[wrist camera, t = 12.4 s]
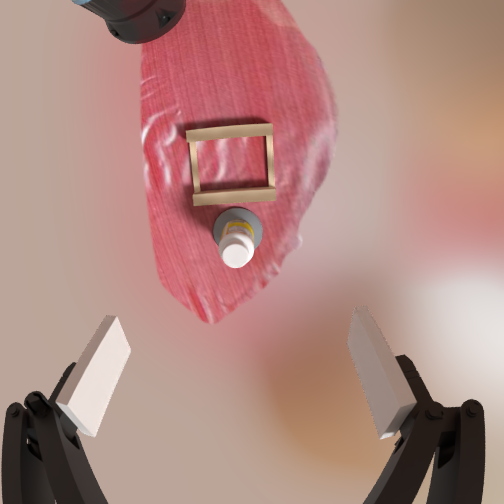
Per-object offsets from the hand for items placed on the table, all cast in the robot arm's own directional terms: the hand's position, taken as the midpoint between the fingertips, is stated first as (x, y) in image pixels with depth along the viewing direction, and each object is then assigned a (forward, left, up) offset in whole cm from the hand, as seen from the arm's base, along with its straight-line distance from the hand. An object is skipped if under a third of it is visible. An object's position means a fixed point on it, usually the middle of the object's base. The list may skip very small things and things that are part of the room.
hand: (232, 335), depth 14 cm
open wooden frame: (-5, -2, -37) cm, 37 cm away
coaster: (+8, -2, -37) cm, 38 cm away
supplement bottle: (+7, -2, -36) cm, 37 cm away
